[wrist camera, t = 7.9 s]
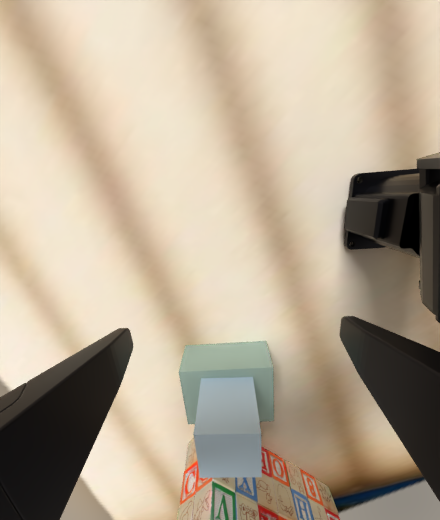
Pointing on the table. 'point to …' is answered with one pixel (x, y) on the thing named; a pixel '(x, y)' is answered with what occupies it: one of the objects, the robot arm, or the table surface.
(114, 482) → the table surface
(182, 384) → the pale green block
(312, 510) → the stack of blocks
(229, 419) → the cube
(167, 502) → the table surface
